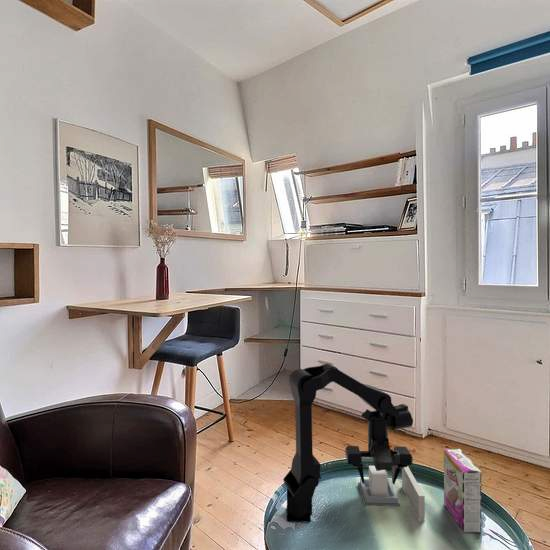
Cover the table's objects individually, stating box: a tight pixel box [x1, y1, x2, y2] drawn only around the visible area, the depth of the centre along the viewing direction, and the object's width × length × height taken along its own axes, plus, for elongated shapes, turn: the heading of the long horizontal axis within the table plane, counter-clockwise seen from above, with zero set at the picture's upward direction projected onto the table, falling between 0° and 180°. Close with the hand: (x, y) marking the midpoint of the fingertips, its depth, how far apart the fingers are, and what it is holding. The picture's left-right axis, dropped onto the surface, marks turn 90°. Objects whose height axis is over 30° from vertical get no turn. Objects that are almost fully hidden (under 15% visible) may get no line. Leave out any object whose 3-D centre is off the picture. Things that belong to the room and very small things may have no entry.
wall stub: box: [401, 465, 426, 522], centre depth 105 cm, size 2×15×7 cm, turn 177°
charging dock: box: [358, 478, 401, 507], centre depth 109 cm, size 10×10×2 cm
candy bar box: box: [443, 448, 482, 534], centre depth 98 cm, size 11×5×16 cm, turn 0°
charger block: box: [368, 465, 389, 496], centre depth 109 cm, size 4×4×7 cm
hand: (378, 483), depth 109 cm, fingers open, 9 cm apart
